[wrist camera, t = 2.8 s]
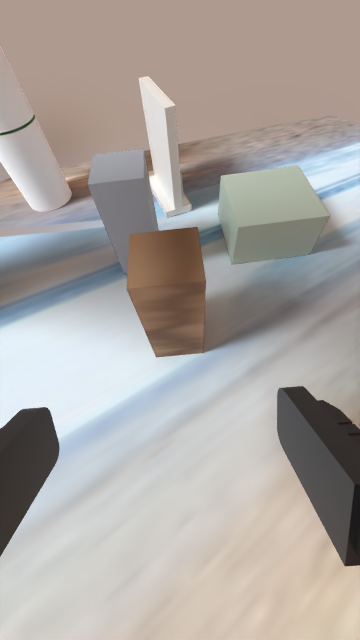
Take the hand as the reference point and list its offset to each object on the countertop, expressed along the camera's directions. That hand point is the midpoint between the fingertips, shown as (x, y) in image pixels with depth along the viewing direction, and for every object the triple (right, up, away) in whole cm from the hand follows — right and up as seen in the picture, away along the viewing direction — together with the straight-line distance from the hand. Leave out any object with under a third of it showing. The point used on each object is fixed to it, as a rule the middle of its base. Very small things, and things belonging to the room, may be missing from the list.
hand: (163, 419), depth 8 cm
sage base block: (+12, +15, +25) cm, 32 cm away
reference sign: (-1, +24, +31) cm, 39 cm away
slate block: (-4, +12, +24) cm, 28 cm away
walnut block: (0, +2, +18) cm, 18 cm away
